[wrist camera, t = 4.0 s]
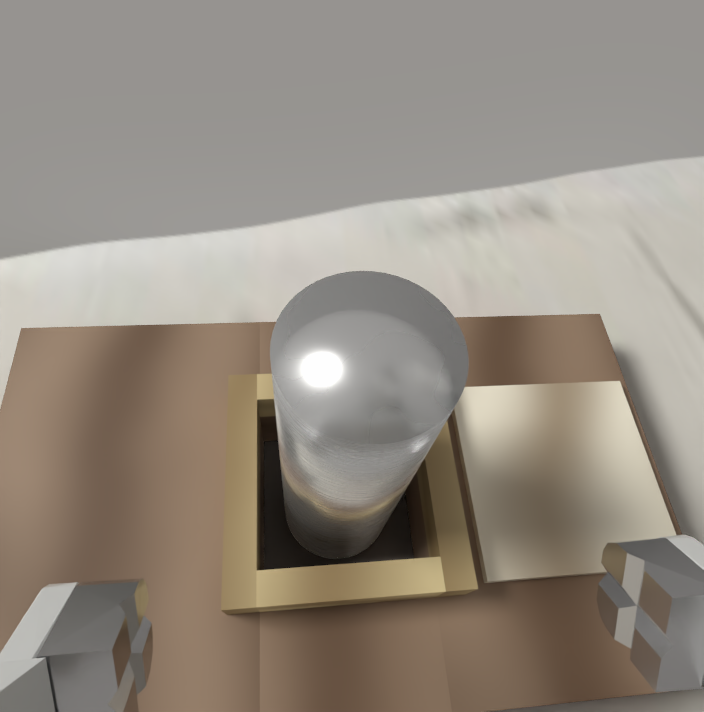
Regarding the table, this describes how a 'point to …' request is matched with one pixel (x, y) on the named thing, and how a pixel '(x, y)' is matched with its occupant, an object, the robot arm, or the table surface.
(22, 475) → the wooden peg board
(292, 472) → the steel pin
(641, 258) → the table surface
